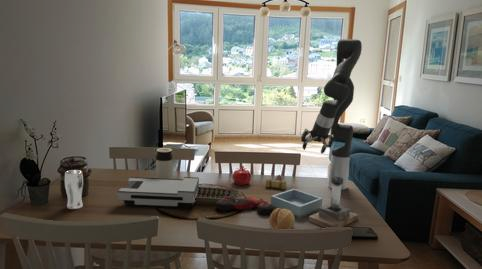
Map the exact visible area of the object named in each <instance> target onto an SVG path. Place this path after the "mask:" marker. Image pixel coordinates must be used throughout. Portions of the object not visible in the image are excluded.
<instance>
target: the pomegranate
mask: <svg viewBox="0 0 482 269" xmlns="http://www.w3.org/2000/svg"><path fill="white" fill-rule="evenodd" d="M244 167H245V166H244V165H241V167H238V168H236V169H235V170H234V171H233V173H232V175H231V178H232V181H233V183H235V184H236V185H239V186H245V185H248V184H250V182H251V180H252V175H251V172H250V171H249V170H248V167H245V168H244Z"/></svg>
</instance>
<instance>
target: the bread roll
mask: <svg viewBox="0 0 482 269" xmlns="http://www.w3.org/2000/svg"><path fill="white" fill-rule="evenodd" d="M269 215H270V216H269V225H270V228H271V229H272V228H273V229H291V230H292V228H293V226H294V224H295V221H296V217H295V216H294V215H293V213H292V212H291V211H290V210H287V209H282V208H277V209H275V208H274V210H273V212H272V213H271V214H269Z"/></svg>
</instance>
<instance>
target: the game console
mask: <svg viewBox="0 0 482 269" xmlns="http://www.w3.org/2000/svg"><path fill="white" fill-rule="evenodd" d="M199 187H200V178H199V177H196V176H195V177H194V176H184V177H183V179H181V178H172V179H163V178H156V177H139V176H138V177H137V176H130V177H129V179H128V180H127V187H123V188H122V187H121V188H120V189H119V190H118V191H117V192H116V194H117V196H116V198H117V200H118V201H123V204H127V205H128V204H129V208H142V209H143V208H145V209H146V208H148V209H166V210H167V209H169V210H171V209H172V210H187V211H188V210H189V208H190V207H193V206H194V204H195V203H196V200H195V198H196V199H197V197H198V190H199ZM196 196H197V197H196Z"/></svg>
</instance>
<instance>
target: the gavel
mask: <svg viewBox="0 0 482 269" xmlns="http://www.w3.org/2000/svg"><path fill="white" fill-rule="evenodd" d="M282 177H283V176H282V175H281V174H278V175H276V178H275V179H271V178H266V179H265V188H272V189H273V188H274V189H281V190H286V187H287V180H284V179H282Z"/></svg>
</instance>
